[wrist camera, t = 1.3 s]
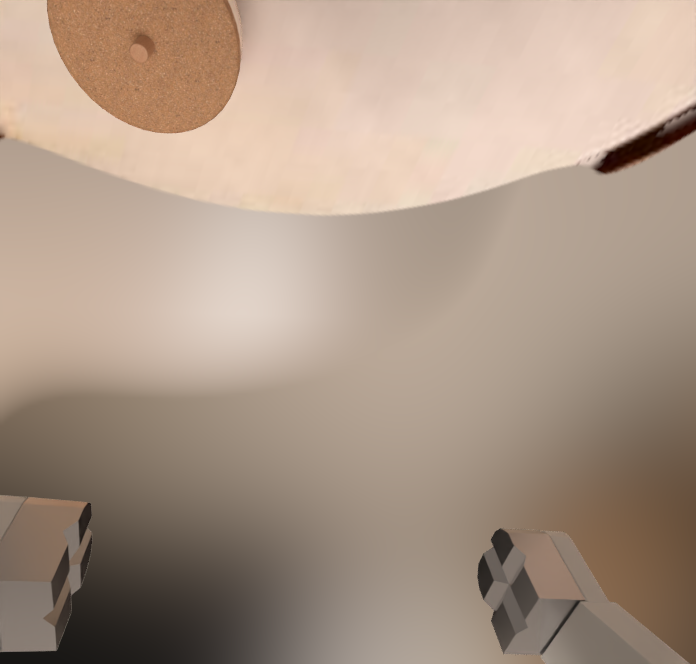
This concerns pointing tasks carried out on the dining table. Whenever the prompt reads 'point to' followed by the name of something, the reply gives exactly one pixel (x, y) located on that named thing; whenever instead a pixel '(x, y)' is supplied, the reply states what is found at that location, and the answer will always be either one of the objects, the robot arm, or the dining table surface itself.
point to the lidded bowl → (151, 57)
